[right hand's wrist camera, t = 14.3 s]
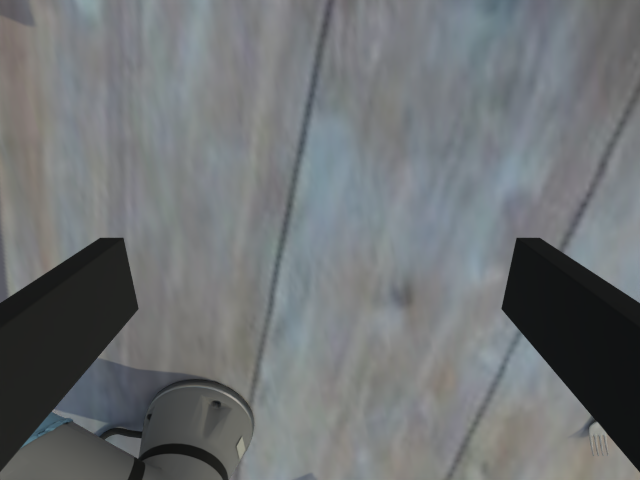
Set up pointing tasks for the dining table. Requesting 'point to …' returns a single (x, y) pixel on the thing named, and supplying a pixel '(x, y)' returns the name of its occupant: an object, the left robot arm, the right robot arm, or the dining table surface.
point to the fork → (594, 431)
